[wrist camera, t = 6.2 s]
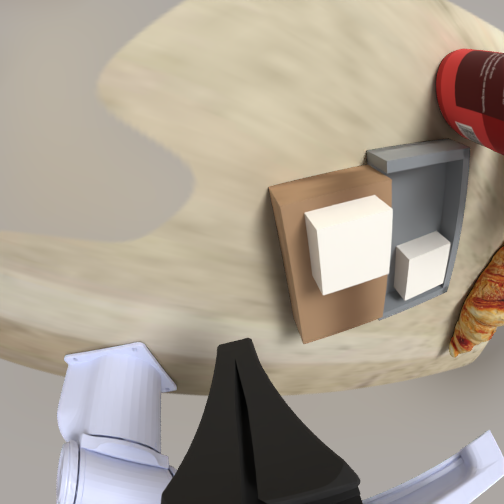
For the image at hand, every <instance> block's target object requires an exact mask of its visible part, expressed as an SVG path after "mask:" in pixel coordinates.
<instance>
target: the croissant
mask: <svg viewBox="0 0 504 504" xmlns="http://www.w3.org/2000/svg"><path fill="white" fill-rule="evenodd" d="M503 325H504V246H503V247H502V248H500V250H499V251H498V252H497V253H496V254H495V255H494V256H493V258H492V260H491V262H490V263H489V265H488V266H487V267H486V269H485V270H484V271H483V272H482V273H481V275H480V276H479V278H478V280H477V281H476V283H475V285H474V287H473V289H472V290H471V292H470V293H469V295H468V297H467V298H466V300H465V302H464V305H463V307H462V310H461V313H460V318H459V321H457V324H456V326H455V332H454V336H453V337H452V338H451V341H450V344H449V352H450V355H451V356H452V357H456V356H457V355H458V354H461V353H466V352H470V351H471V350H472V348H473V346H475V345H478V344H480V343H481V342H486V341H487V340H490V339H491V338H492V336H493V334H494V333H495V332H496V327H497V326H503Z"/></svg>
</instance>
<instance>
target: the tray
mask: <svg viewBox="0 0 504 504" xmlns="http://www.w3.org/2000/svg"><path fill="white" fill-rule="evenodd" d="M469 161H470V147H467V146H465V145H463V144H460V143H458V142H456V141H453V140H451V139H441V140H432V141H425V142H417V143H410V144H403V145H397V146H390V147H384V148H378V149H372V150H367V164H368V165H369V166H371V167H373V168H374V169H376V170H378V171H379V172H381V173H382V174H384V175H386V176H387V177H389V178H390V179H392V209H393V219H392V240H391V255H390V267H389V274H388V276H387V286H386V295H385V303H384V310H383V317H381V318H379V319H378V320H382V319H384V318H387V317H390V316H392V315H395V314H397V313H399V312H402V311H404V310H407V309H409V308H411V307H414V306H416V305H418V304H421V303H423V302H425V301H428V300H430V299H432V298H434V297H436V296H439V295H441V294H443V293H445V292H447V290H448V286H449V282H450V279H451V275H452V271H453V267H454V262H455V258H456V254H457V249H458V244H459V239H460V234H461V228H462V222H463V216H464V210H465V202H466V194H467V185H468V175H469ZM435 231H438V232H439V233H440V234H441V235H442V236H443V237H445V238H446V239H447V240H448V241H449V242H450V249H449V255H448V261H447V266H446V271H445V276H444V281H443V283H442V284H440V285H438V286H436V287H434V288H432V289H430V290H428V291H425V292H423V293H421V294H419V295H417V296H414V297H412V298H410V299H408V300H405V301H404V299H403V298H402V297H401V295H400V294H399V293H398V292H397V290H396V289H395V288H394V276H395V261H396V246H398V245H400V244H403V243H406V242H408V241H411V240H414V239H416V238H419V237H422V236H424V235H427V234H429V233H432V232H435Z"/></svg>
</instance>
